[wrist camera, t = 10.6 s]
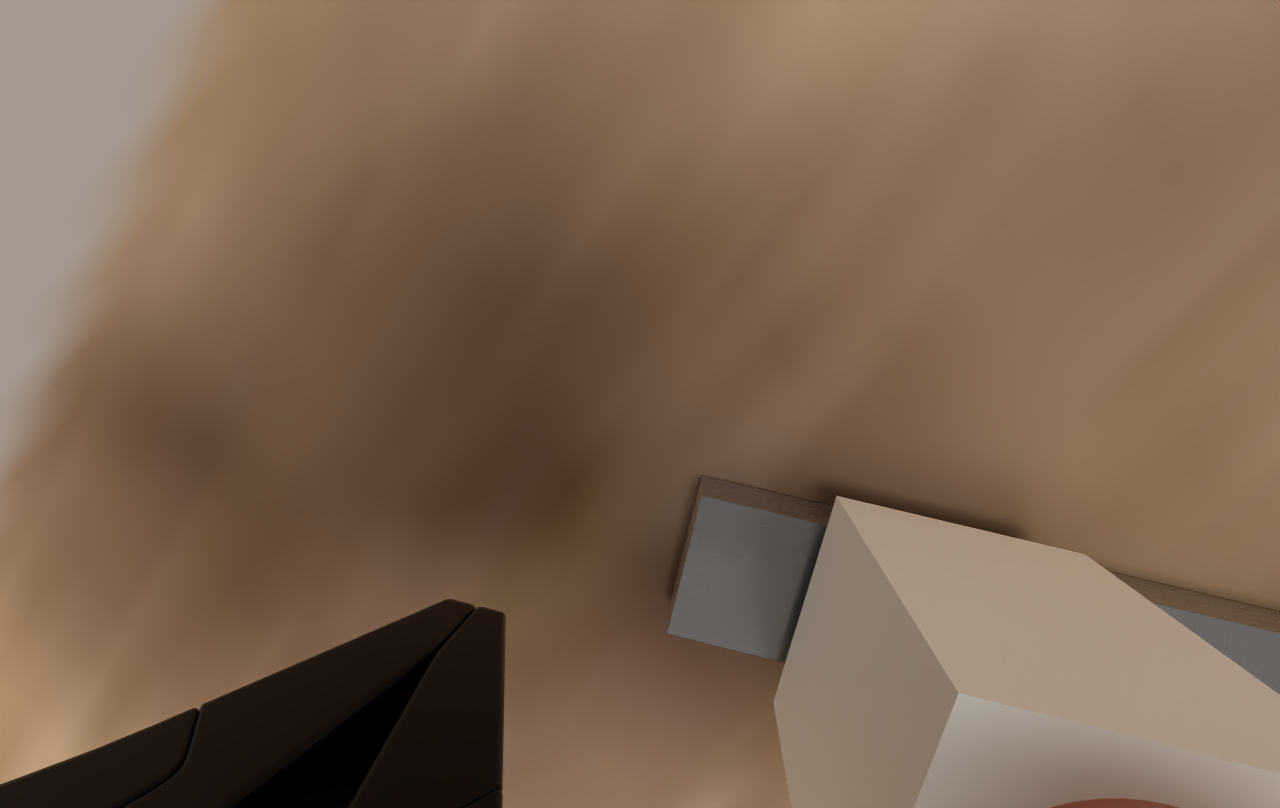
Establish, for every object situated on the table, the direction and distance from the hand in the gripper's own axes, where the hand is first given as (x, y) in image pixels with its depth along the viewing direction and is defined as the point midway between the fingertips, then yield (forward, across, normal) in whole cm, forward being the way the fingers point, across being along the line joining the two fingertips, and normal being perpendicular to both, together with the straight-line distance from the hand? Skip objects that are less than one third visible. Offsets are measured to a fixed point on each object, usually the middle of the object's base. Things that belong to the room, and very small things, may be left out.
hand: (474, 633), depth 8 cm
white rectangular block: (+3, -7, 0) cm, 8 cm away
